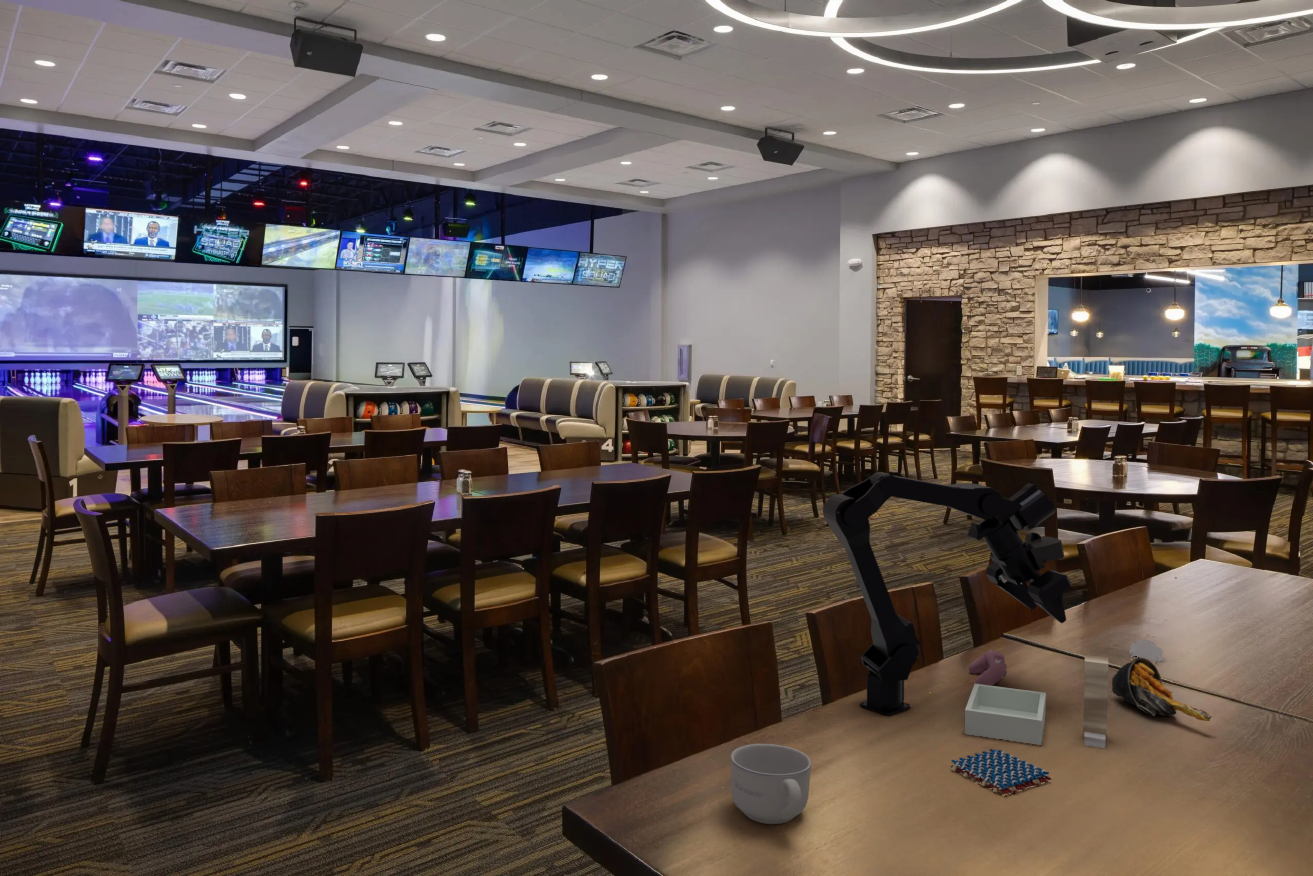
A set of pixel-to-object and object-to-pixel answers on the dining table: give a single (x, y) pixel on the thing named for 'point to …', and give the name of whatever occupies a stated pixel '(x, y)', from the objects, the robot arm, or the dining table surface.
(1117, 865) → the dining table surface
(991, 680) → the video game controller
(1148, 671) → the fried shrimp in bowl
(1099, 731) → the plate
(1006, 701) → the box
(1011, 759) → the woven mat
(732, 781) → the teacup
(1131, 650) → the car cutout
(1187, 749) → the dining table surface
